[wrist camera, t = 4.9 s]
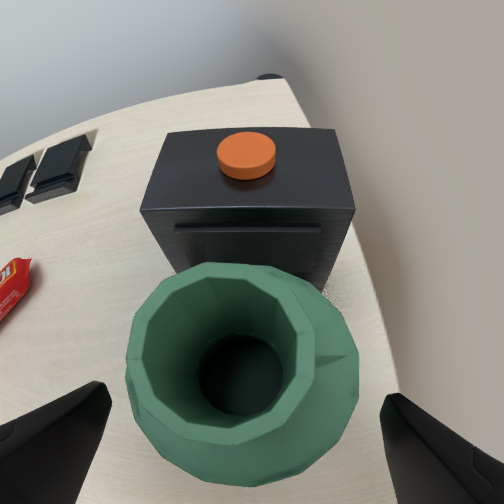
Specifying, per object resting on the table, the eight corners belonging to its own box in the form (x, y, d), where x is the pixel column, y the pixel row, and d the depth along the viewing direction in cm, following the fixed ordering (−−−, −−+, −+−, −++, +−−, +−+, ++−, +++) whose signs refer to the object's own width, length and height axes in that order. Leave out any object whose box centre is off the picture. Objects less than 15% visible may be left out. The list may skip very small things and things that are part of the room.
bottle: (305, 442, 14) (405, 529, 2) (195, 433, 14) (36, 472, 3) (311, 340, 17) (392, 193, 6) (207, 334, 18) (103, 188, 6)
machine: (328, 457, 13) (420, 523, 3) (176, 452, 14) (55, 494, 4) (323, 259, 20) (362, 119, 10) (194, 258, 21) (140, 124, 11)
